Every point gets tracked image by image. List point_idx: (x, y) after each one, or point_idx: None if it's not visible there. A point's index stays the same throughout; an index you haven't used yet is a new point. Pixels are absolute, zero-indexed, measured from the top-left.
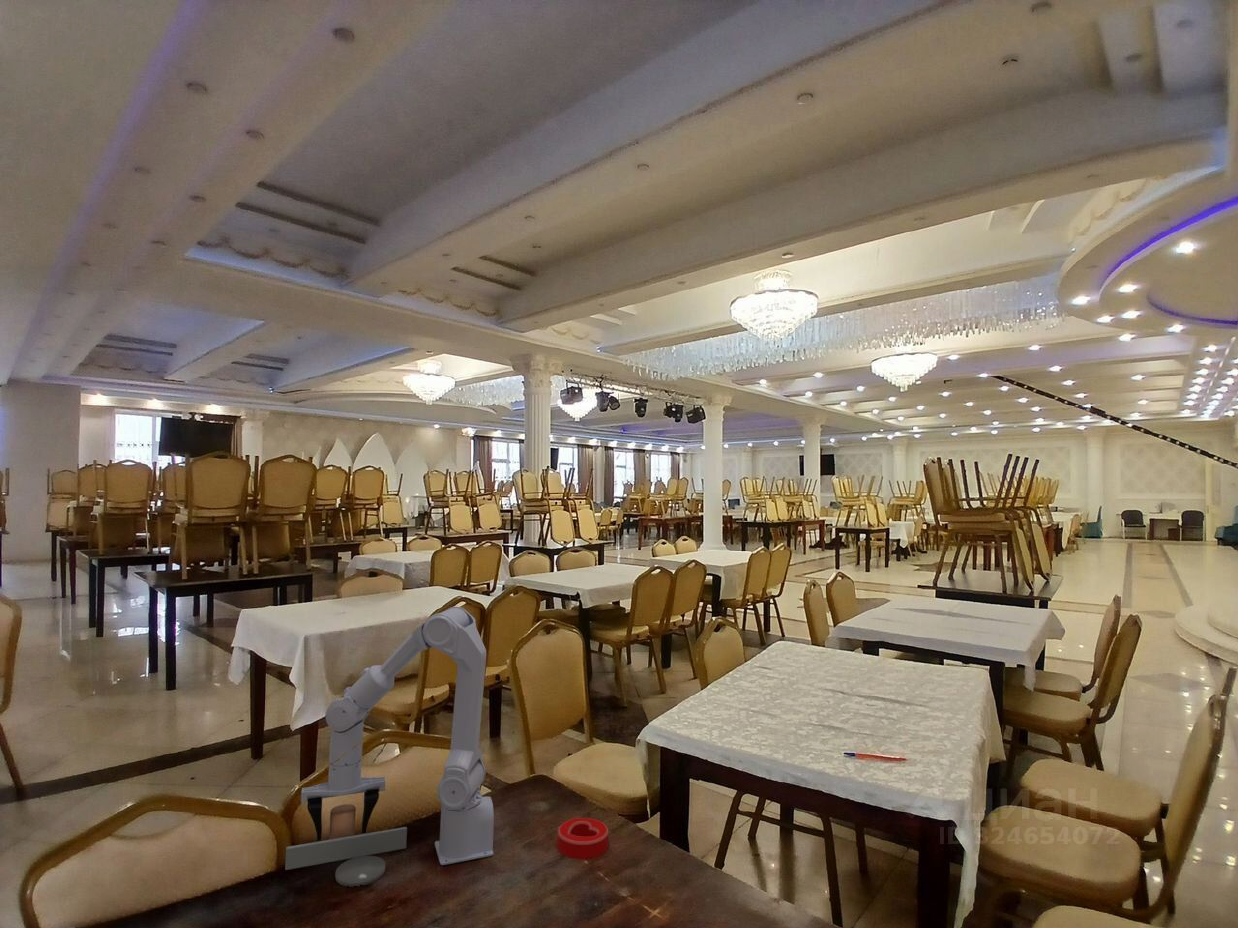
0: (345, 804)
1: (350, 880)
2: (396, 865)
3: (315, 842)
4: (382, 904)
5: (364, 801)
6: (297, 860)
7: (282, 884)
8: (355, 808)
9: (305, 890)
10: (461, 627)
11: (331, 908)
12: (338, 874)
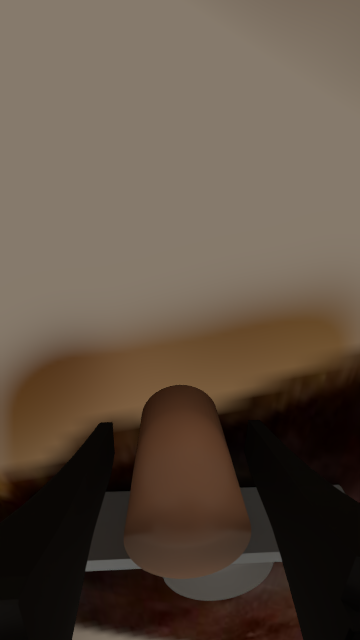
0: (203, 492)
1: (192, 593)
2: None
3: (92, 562)
4: (240, 629)
5: (307, 568)
6: None
7: None
8: (248, 540)
9: (101, 575)
10: None
11: (155, 622)
12: None
